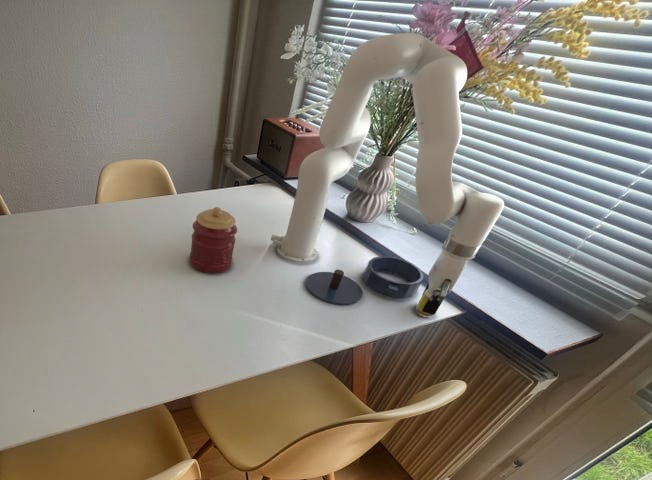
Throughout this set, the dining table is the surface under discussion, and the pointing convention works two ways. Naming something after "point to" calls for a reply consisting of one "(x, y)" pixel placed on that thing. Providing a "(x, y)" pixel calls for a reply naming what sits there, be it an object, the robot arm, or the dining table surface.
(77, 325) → the dining table surface
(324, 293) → the pot lid
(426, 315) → the supplement bottle
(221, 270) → the kitchen canister
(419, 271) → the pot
